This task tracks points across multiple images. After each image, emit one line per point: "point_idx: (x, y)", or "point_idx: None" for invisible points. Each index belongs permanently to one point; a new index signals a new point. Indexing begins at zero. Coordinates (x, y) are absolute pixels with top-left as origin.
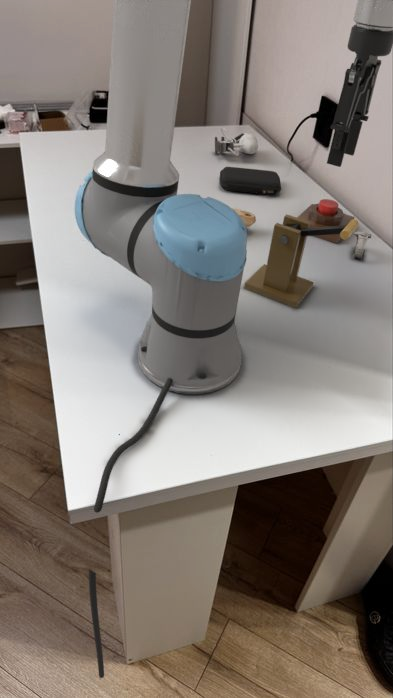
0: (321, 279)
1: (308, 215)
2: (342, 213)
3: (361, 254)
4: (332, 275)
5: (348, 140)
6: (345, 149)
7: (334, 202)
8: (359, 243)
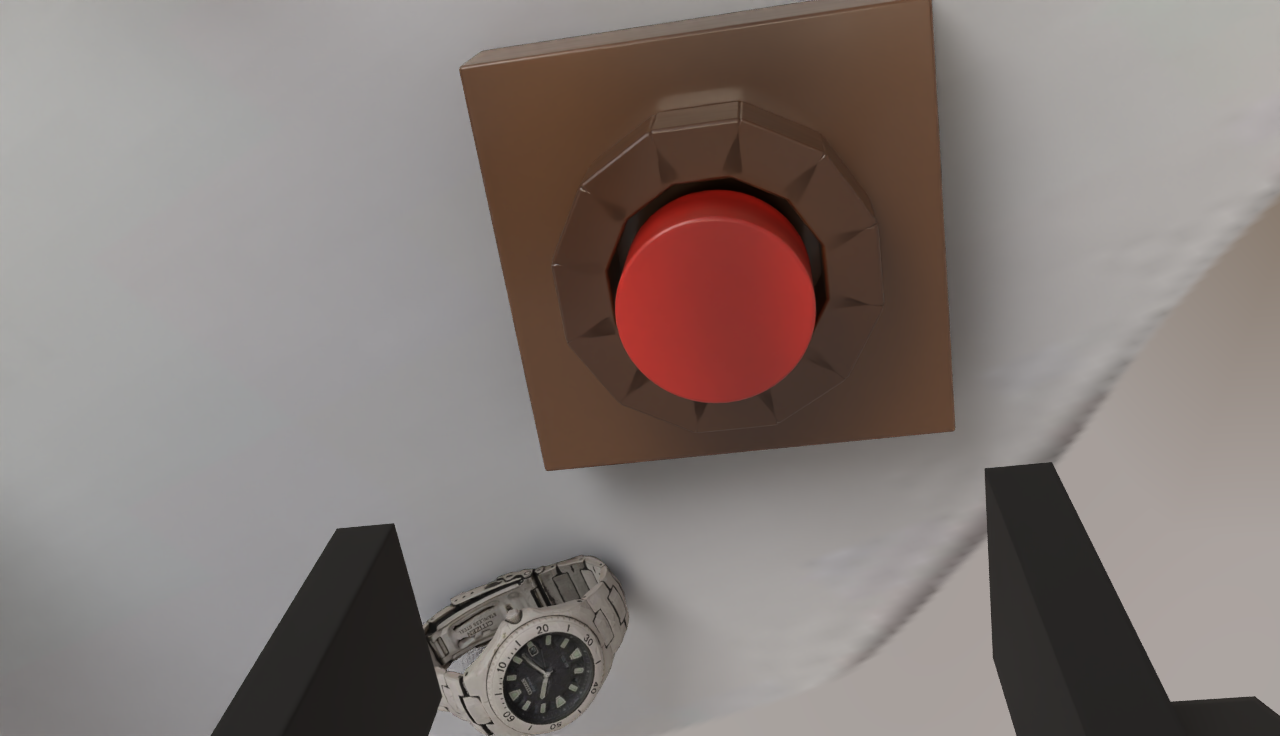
0: (67, 553)
1: (644, 115)
2: (771, 414)
3: None
4: (165, 580)
5: (1038, 695)
6: (998, 579)
7: (772, 346)
8: None
